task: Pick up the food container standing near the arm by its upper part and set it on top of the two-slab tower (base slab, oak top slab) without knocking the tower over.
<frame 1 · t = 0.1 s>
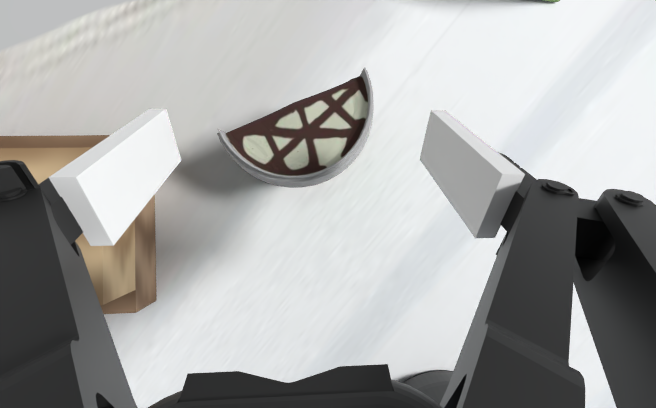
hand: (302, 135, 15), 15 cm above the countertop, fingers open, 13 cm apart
food container: (311, 161, 30), on the countertop
tower base: (78, 223, 29), on the countertop, touching tower top
tower top: (41, 225, 25), point 3 cm above the countertop, touching tower base
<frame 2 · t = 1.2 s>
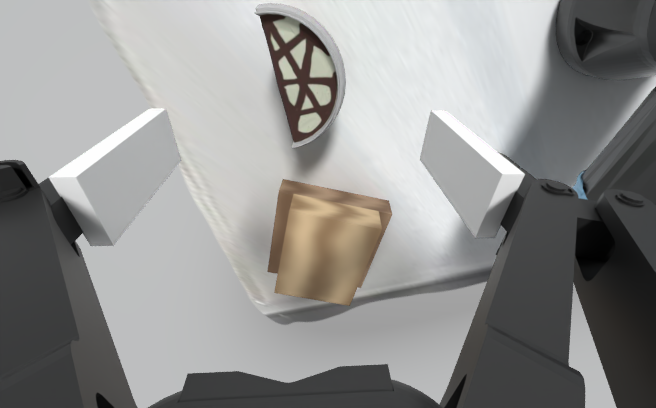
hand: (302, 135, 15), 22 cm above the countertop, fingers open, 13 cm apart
food container: (317, 63, 33), on the countertop
tower base: (325, 228, 47), on the countertop, touching tower top
tower top: (324, 244, 44), point 3 cm above the countertop, touching tower base
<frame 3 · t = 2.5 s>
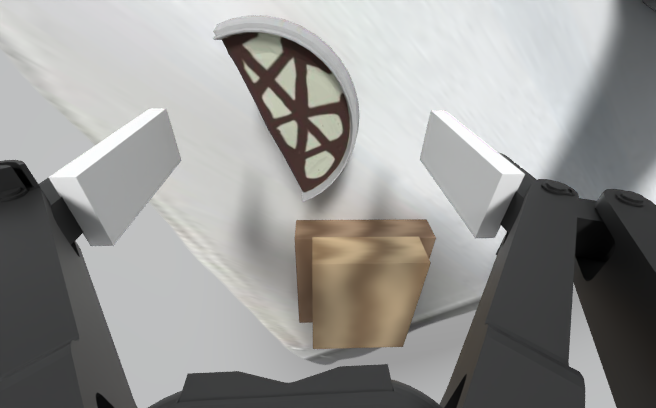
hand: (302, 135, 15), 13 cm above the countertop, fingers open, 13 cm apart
food container: (311, 78, 26), on the countertop
tower base: (356, 262, 40), on the countertop
tower top: (359, 283, 37), point 3 cm above the countertop
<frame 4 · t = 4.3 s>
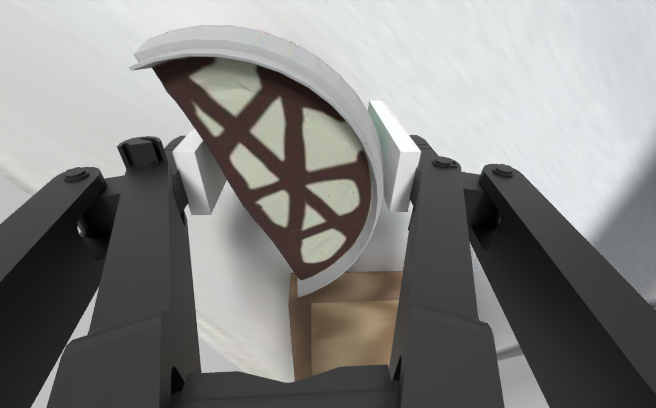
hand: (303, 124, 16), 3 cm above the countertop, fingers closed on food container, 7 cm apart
food container: (308, 106, 19), on the countertop, touching gripper
tower base: (363, 314, 34), on the countertop, touching tower top
tower top: (370, 348, 30), point 3 cm above the countertop, touching tower base
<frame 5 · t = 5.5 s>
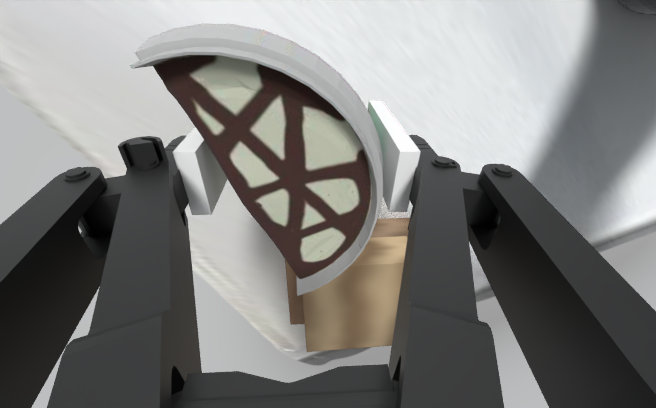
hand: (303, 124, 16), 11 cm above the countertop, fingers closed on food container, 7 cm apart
food container: (309, 105, 19), point 8 cm above the countertop, touching gripper
tower base: (346, 261, 40), on the countertop, touching tower top
tower top: (350, 285, 37), point 3 cm above the countertop, touching tower base
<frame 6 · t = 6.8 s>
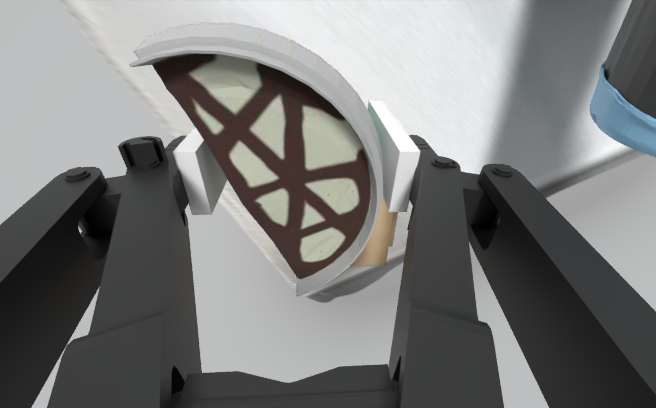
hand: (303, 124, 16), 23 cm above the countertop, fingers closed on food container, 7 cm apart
food container: (308, 105, 19), point 20 cm above the countertop, touching gripper
tower top: (347, 211, 45), point 3 cm above the countertop, touching tower base
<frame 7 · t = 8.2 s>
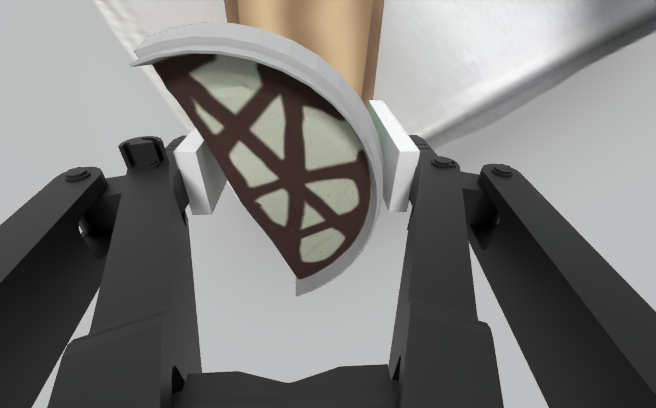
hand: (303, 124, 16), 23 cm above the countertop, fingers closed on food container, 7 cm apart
food container: (308, 105, 19), point 19 cm above the countertop, touching gripper
tower base: (306, 57, 35), on the countertop, touching tower top
tower top: (305, 66, 32), point 3 cm above the countertop, touching tower base
when the fingers open (12 cm above the countertop, at t = 10.9 s): food container drops 1 cm, resting on tower top.
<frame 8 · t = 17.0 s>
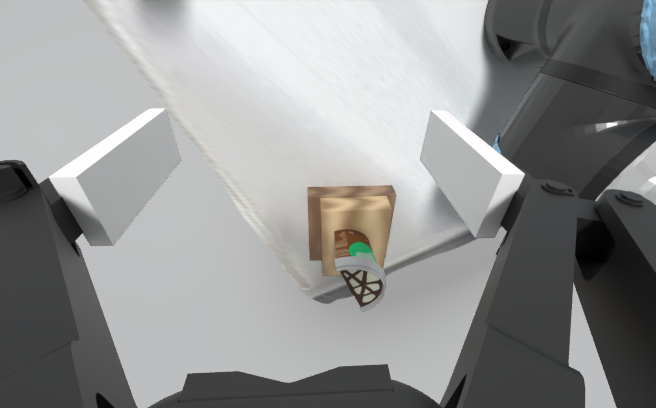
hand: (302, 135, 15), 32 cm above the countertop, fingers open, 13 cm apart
food container: (359, 242, 53), point 7 cm above the countertop, touching tower top
tower base: (347, 217, 59), on the countertop, touching tower top
tower top: (351, 230, 56), point 3 cm above the countertop, touching food container, tower base
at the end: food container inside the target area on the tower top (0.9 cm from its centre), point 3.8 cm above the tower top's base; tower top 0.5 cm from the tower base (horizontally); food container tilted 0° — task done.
